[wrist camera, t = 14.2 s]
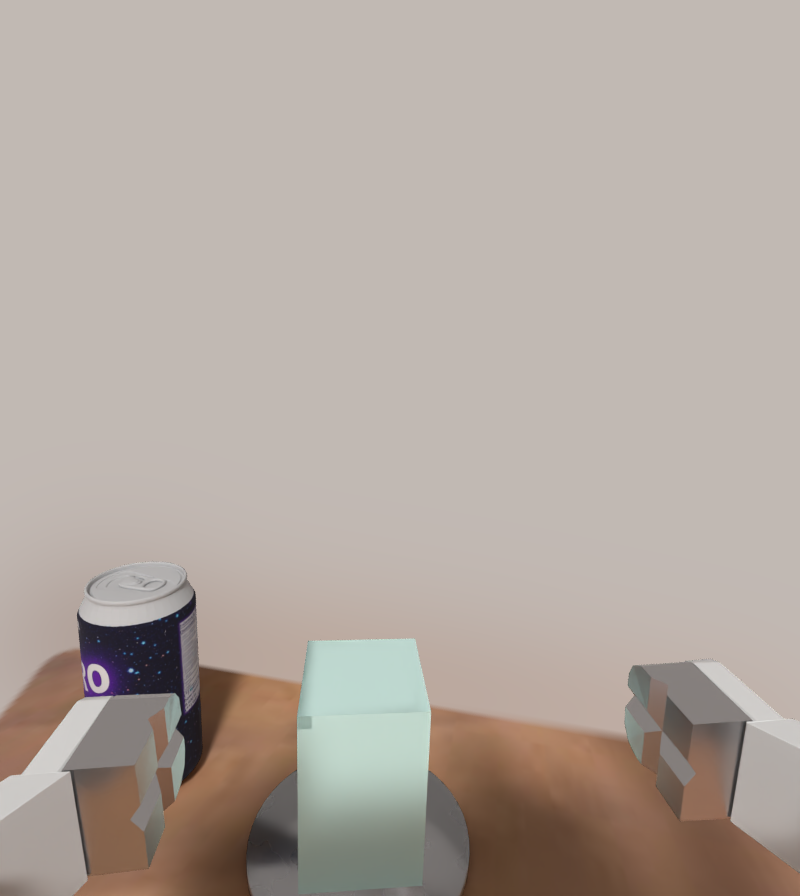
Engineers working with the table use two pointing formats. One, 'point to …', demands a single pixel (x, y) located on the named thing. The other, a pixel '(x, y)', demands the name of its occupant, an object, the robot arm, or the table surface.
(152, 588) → the beverage can
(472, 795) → the table surface
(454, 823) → the post
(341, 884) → the mint green lidded box
